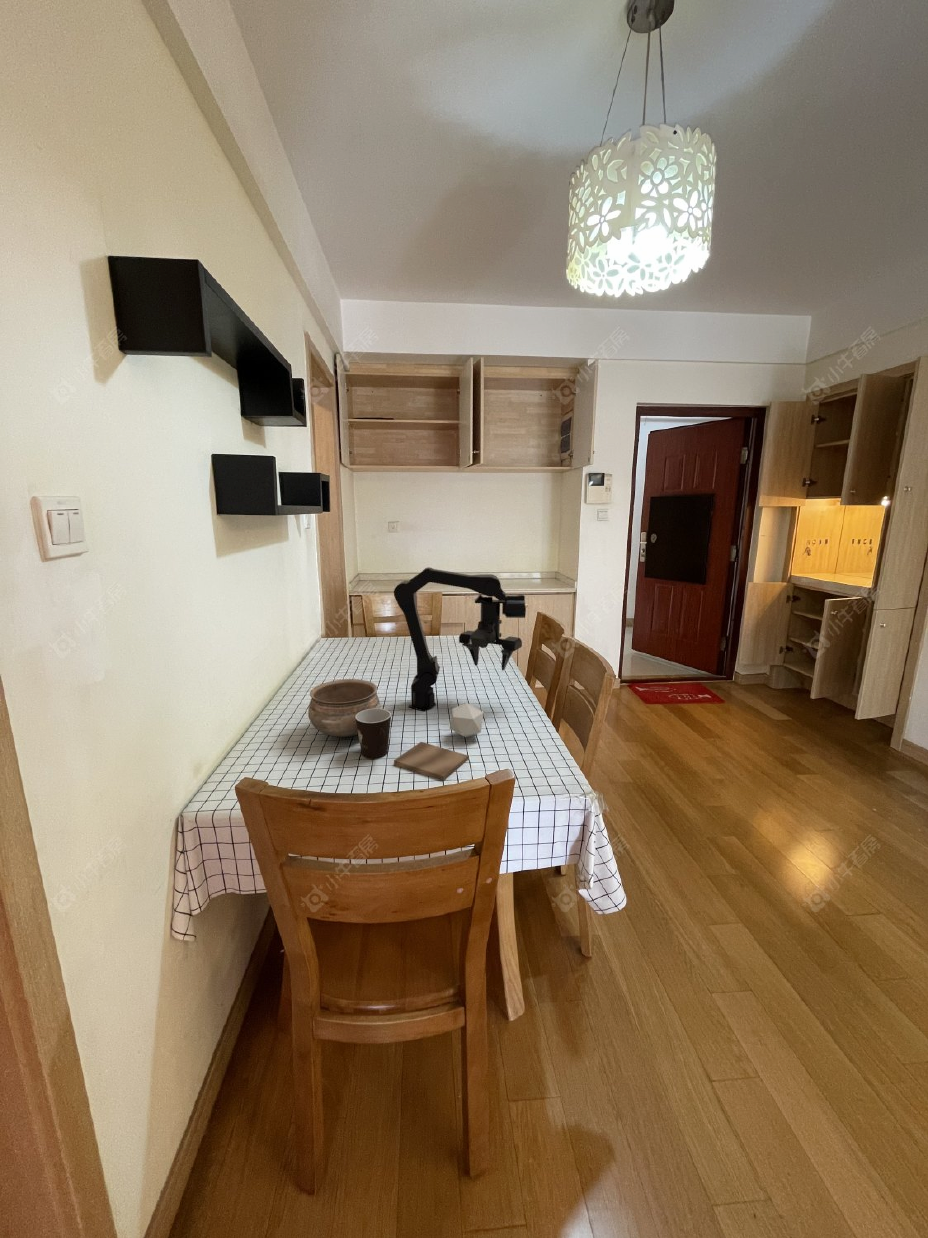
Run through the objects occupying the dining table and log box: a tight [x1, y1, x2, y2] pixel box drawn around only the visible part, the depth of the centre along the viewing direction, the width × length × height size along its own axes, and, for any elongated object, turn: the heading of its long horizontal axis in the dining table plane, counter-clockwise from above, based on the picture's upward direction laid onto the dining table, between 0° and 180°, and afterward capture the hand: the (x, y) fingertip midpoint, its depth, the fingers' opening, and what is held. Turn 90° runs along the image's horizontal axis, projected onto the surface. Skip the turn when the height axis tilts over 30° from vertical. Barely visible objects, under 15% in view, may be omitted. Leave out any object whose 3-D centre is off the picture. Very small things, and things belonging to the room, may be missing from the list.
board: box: [393, 741, 469, 782], centre depth 116 cm, size 14×11×1 cm
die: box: [449, 702, 484, 739], centre depth 127 cm, size 8×9×10 cm
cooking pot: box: [307, 678, 382, 739], centre depth 130 cm, size 25×19×12 cm
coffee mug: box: [355, 708, 392, 760], centre depth 118 cm, size 12×9×10 cm
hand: (489, 667), depth 147 cm, fingers open, 9 cm apart
